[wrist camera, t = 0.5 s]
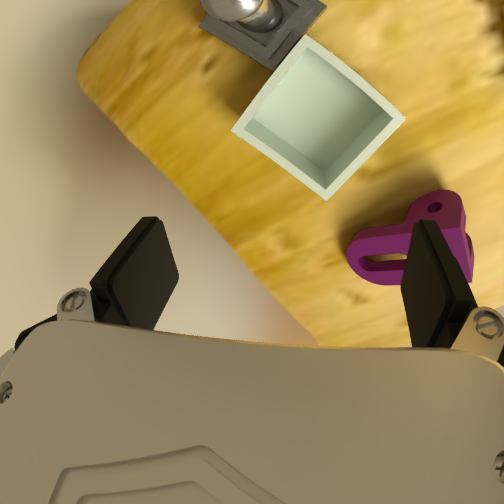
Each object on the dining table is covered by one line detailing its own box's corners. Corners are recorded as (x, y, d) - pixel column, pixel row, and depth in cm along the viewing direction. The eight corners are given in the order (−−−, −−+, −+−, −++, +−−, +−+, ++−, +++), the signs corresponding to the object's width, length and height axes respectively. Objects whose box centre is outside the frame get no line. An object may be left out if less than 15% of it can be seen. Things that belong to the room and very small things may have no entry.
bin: (306, 37, 29) (305, 34, 24) (393, 108, 32) (406, 118, 27) (242, 118, 36) (230, 130, 32) (325, 180, 39) (326, 200, 34)
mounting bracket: (376, 248, 51) (475, 239, 37) (360, 285, 46) (471, 282, 33) (354, 204, 47) (462, 186, 33) (335, 241, 43) (460, 227, 29)
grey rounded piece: (254, -13, 24) (221, -45, 13) (292, 8, 25) (279, -17, 14) (230, 19, 26) (184, 5, 16) (266, 40, 27) (239, 34, 17)
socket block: (253, -33, 24) (245, -43, 20) (325, 9, 26) (327, 3, 22) (207, 28, 30) (193, 26, 26) (275, 69, 32) (270, 72, 28)
